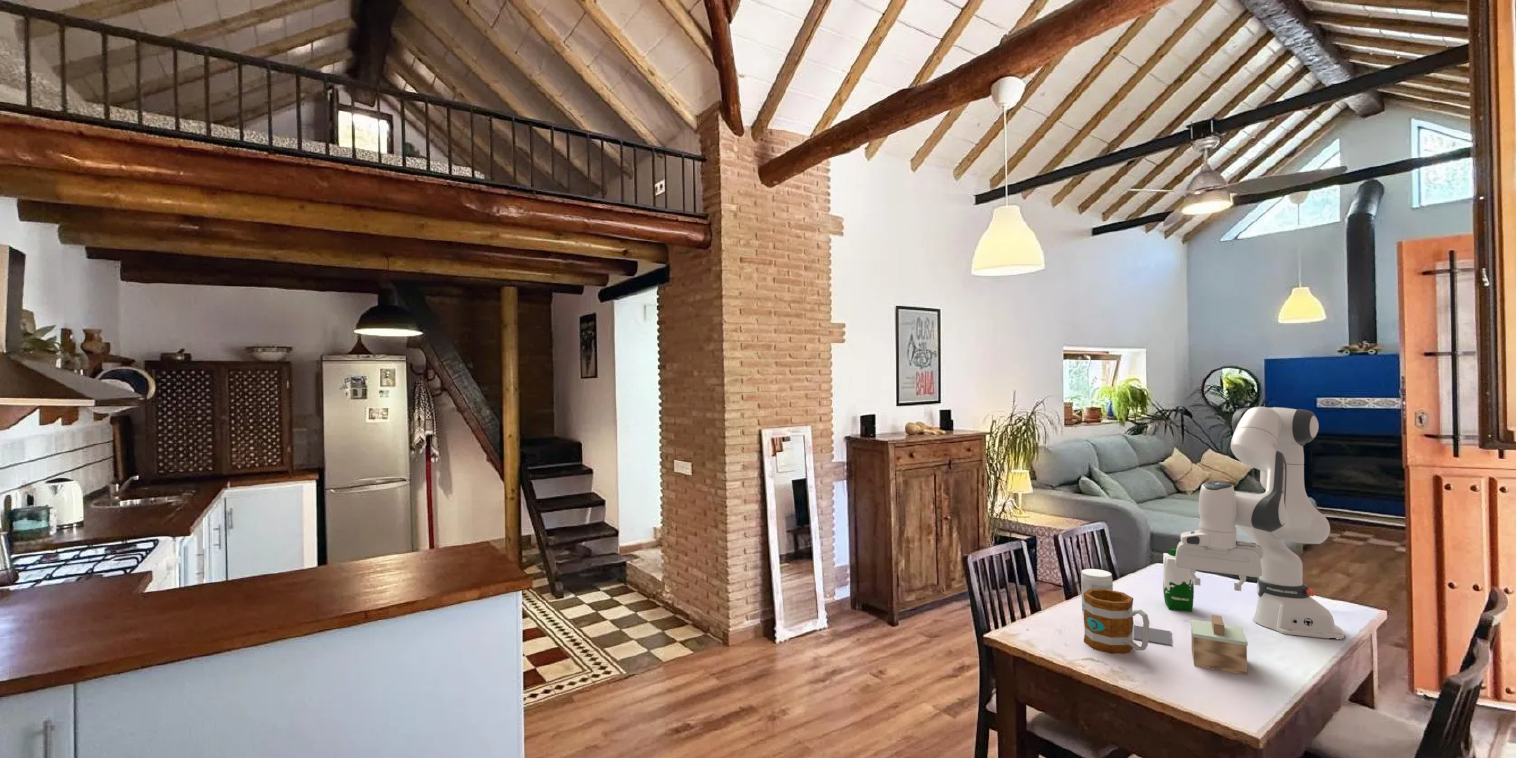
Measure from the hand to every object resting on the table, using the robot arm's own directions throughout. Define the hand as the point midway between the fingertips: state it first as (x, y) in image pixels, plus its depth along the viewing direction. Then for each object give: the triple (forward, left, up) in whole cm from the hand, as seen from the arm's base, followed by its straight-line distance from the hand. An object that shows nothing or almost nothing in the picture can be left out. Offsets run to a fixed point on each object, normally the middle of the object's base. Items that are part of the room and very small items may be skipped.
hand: (1217, 587), depth 185 cm
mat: (+16, -12, -21) cm, 29 cm away
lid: (0, 0, -13) cm, 13 cm away
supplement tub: (+32, -23, -22) cm, 45 cm away
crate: (0, 0, -21) cm, 21 cm away
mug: (+25, +4, -22) cm, 33 cm away
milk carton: (+8, -45, -22) cm, 51 cm away
